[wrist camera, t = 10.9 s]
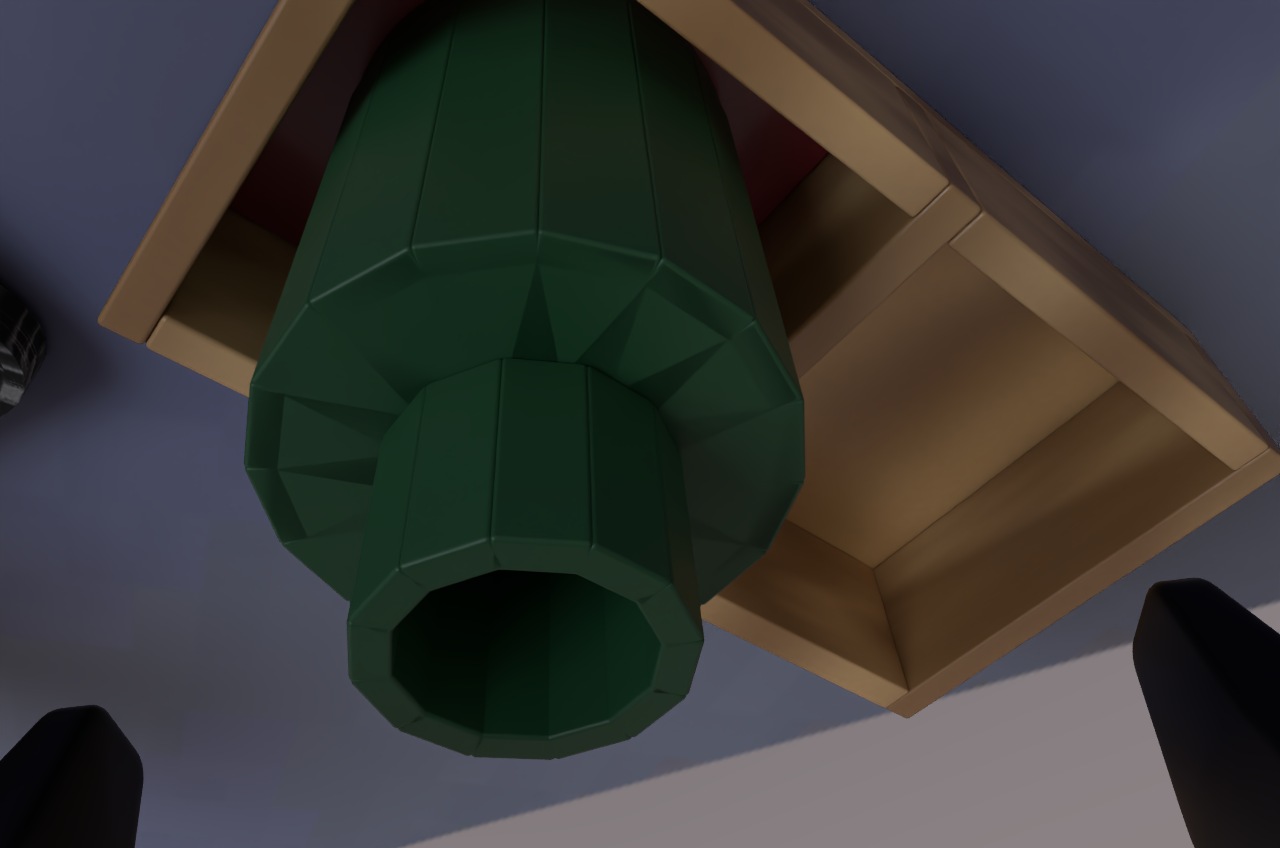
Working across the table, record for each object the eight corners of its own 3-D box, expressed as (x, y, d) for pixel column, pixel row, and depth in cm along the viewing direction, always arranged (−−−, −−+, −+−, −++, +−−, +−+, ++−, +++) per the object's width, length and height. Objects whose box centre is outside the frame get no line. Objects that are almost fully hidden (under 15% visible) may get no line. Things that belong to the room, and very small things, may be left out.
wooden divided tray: (1190, 330, 22) (1293, 466, 19) (866, 576, 26) (907, 720, 23) (454, -306, 14) (425, -254, 11) (171, 188, 18) (93, 325, 15)
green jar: (801, 125, 17) (990, 608, 10) (580, 366, 20) (591, 883, 13) (487, -125, 15) (410, 269, 7) (283, 193, 18) (73, 714, 10)
